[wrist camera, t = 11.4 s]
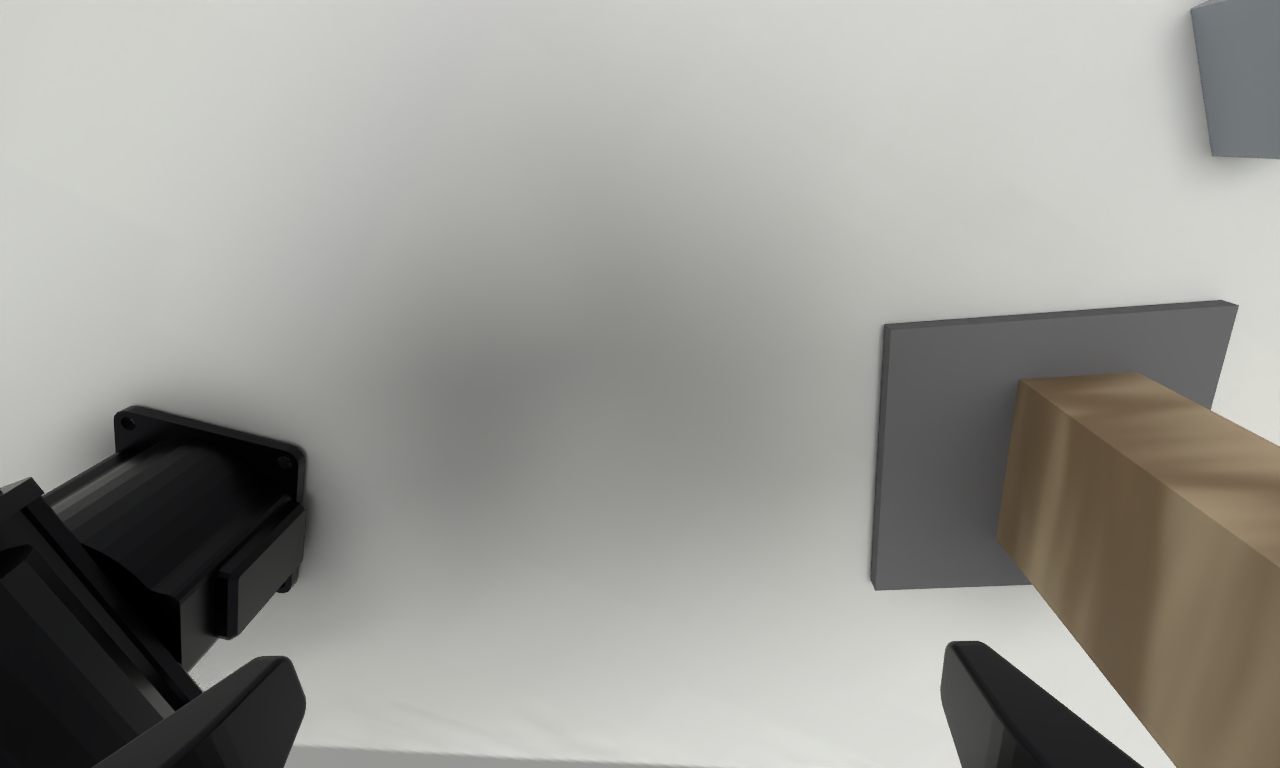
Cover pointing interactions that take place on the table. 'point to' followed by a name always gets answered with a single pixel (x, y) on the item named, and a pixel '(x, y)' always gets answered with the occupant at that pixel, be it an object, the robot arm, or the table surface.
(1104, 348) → the charcoal mat
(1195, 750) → the wooden block
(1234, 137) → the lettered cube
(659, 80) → the table surface
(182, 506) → the robot arm
